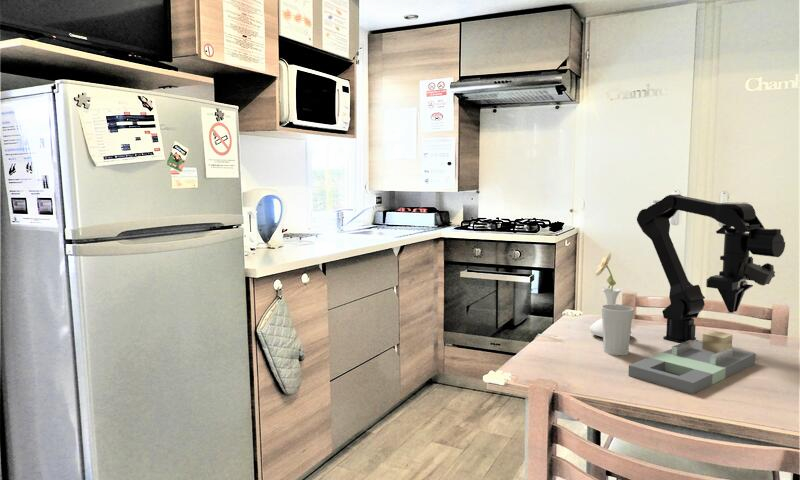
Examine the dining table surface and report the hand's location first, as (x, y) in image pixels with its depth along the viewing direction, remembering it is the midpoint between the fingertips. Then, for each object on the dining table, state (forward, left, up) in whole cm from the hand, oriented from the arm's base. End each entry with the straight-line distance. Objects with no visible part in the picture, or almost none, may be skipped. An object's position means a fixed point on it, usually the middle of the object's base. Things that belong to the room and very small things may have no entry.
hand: (732, 311), depth 153 cm
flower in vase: (-28, -11, -11) cm, 33 cm away
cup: (-20, -22, -11) cm, 31 cm away
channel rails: (0, -16, -8) cm, 18 cm away
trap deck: (0, -20, -11) cm, 23 cm away
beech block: (0, -8, -8) cm, 12 cm away
